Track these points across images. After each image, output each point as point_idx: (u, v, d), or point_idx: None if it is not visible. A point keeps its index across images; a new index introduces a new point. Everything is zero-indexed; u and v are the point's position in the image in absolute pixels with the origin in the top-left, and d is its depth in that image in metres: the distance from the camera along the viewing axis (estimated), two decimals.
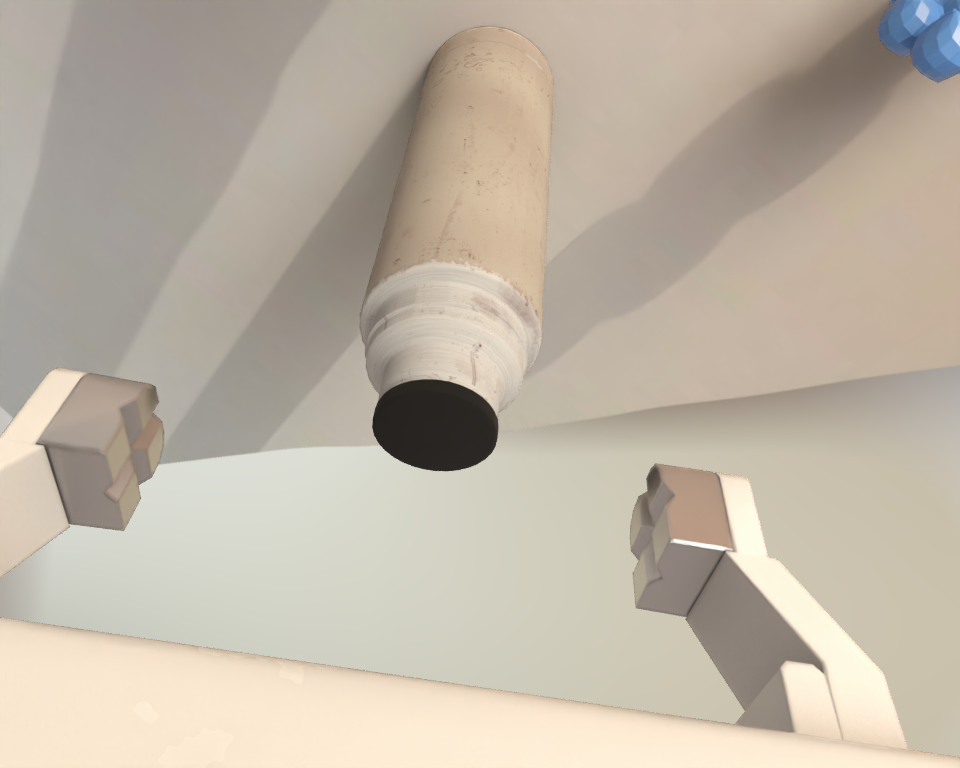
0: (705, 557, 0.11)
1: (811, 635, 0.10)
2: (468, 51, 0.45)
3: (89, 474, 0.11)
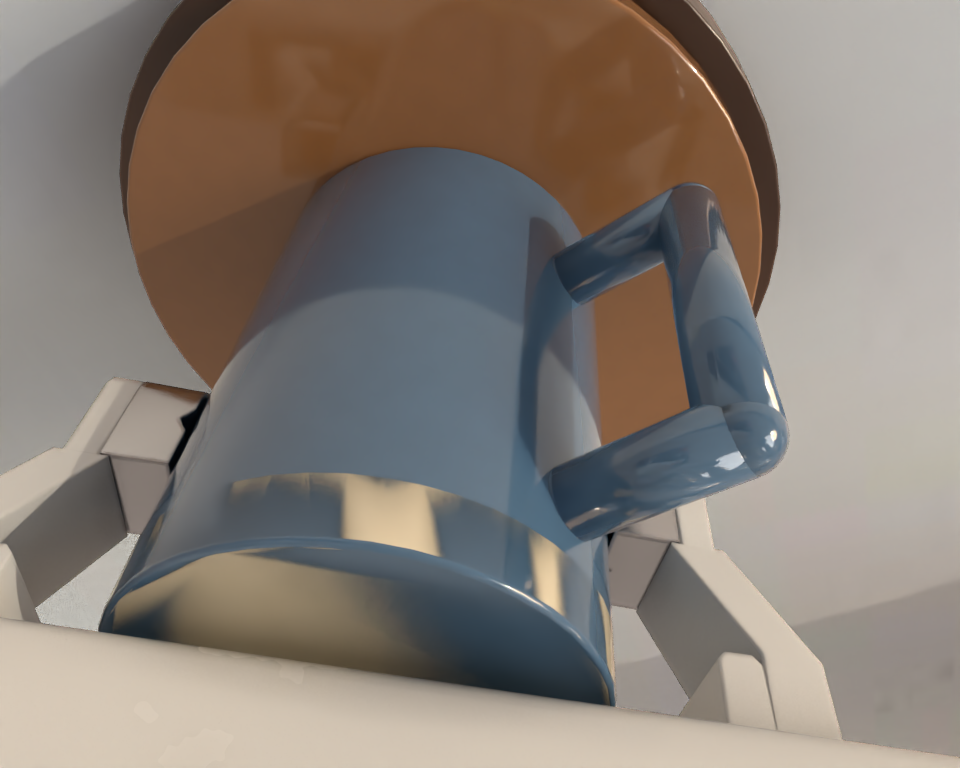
0: (651, 549, 0.11)
1: (752, 625, 0.10)
2: None
3: (151, 484, 0.11)
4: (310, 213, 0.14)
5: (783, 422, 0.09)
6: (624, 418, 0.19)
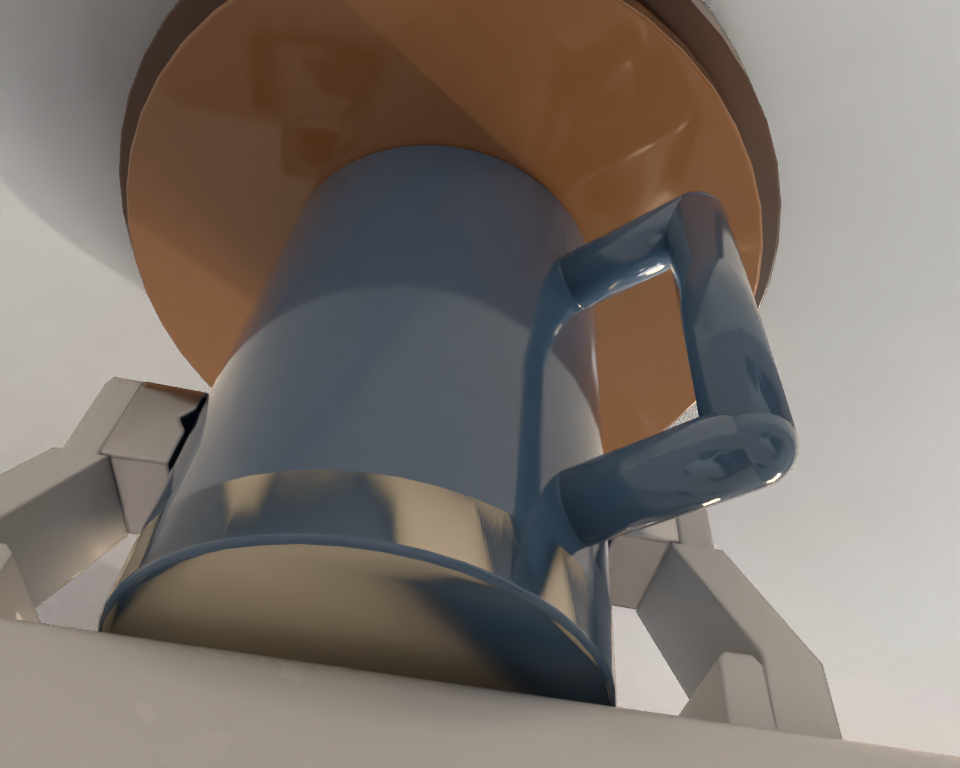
0: (651, 549, 0.11)
1: (752, 626, 0.10)
2: None
3: (151, 483, 0.11)
4: (315, 207, 0.14)
5: (793, 433, 0.09)
6: (617, 422, 0.19)
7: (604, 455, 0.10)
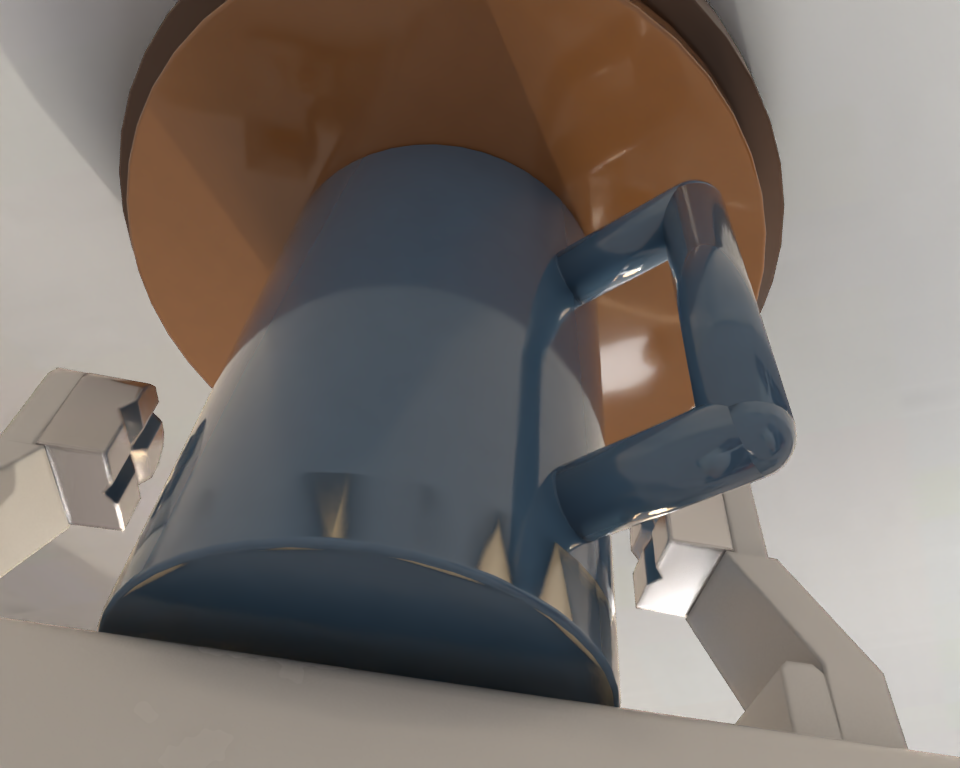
0: (705, 557, 0.11)
1: (811, 635, 0.10)
2: None
3: (89, 474, 0.11)
4: (311, 211, 0.14)
5: (790, 422, 0.08)
6: (626, 417, 0.19)
7: (600, 450, 0.09)
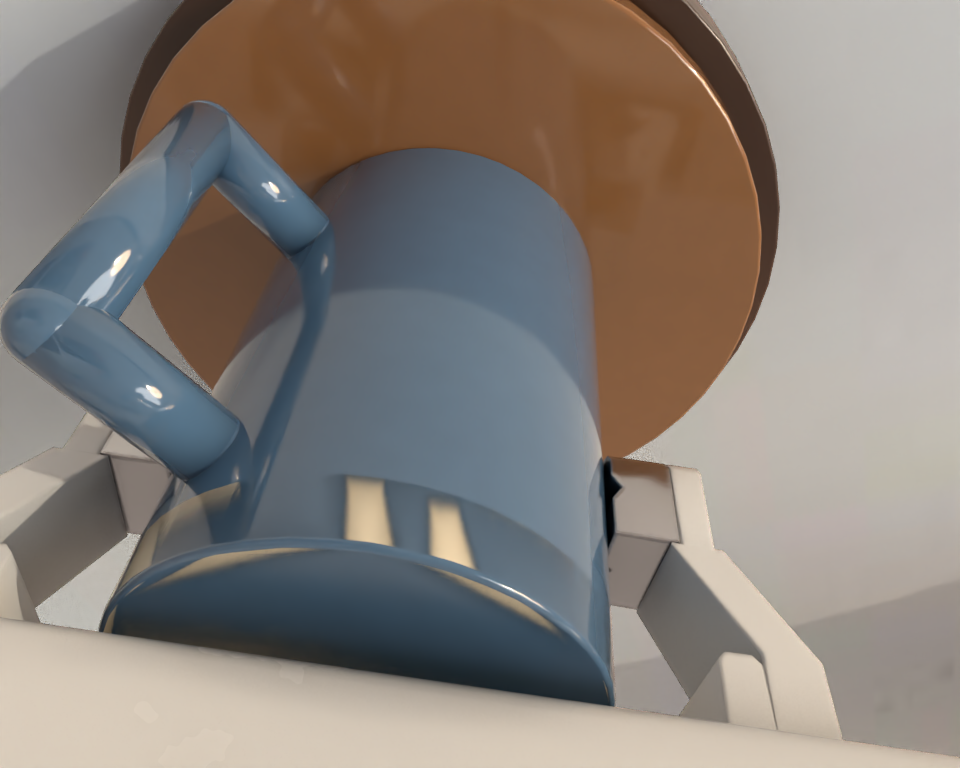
0: (652, 549, 0.11)
1: (752, 625, 0.10)
2: None
3: (151, 483, 0.11)
4: None
5: (3, 305, 0.08)
6: (627, 94, 0.14)
7: None
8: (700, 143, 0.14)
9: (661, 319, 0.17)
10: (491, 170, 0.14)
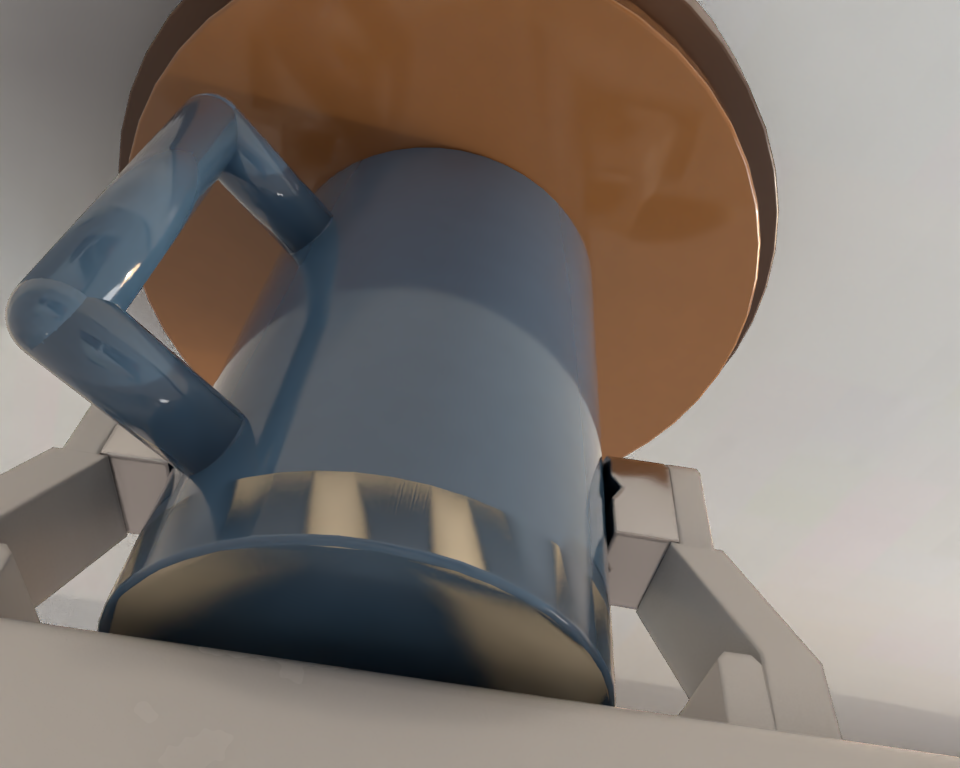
0: (651, 549, 0.11)
1: (752, 625, 0.10)
2: None
3: (151, 483, 0.11)
4: None
5: (11, 294, 0.08)
6: (633, 99, 0.14)
7: None
8: (703, 150, 0.14)
9: (658, 324, 0.17)
10: (496, 172, 0.14)
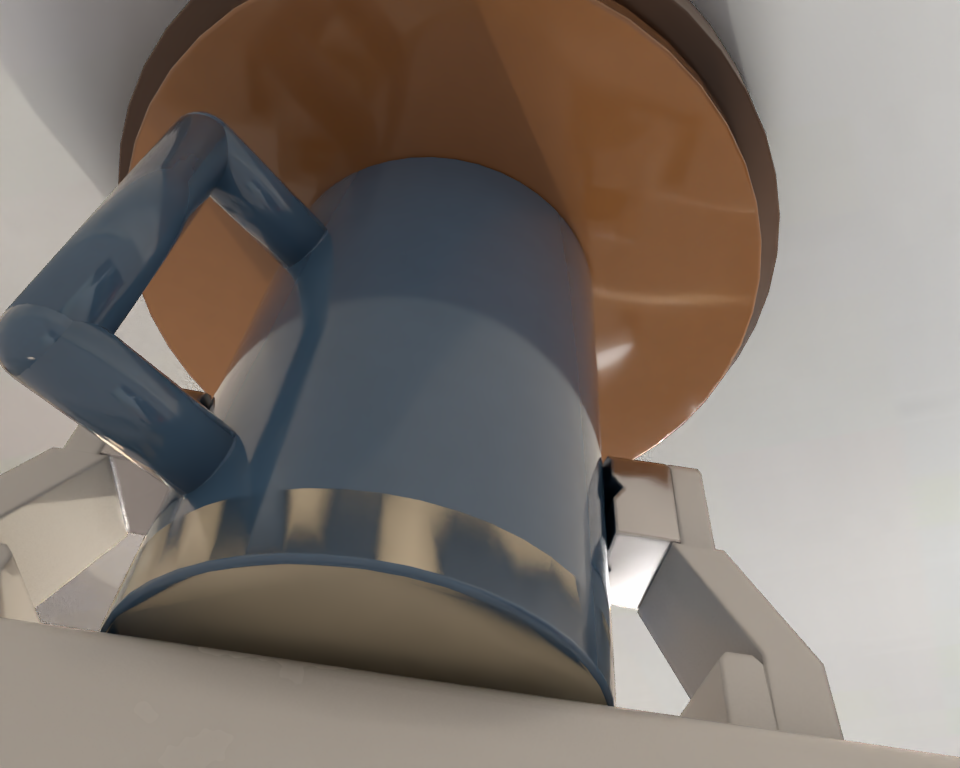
0: (652, 549, 0.11)
1: (752, 626, 0.10)
2: None
3: (151, 483, 0.11)
4: None
5: None
6: (625, 102, 0.14)
7: None
8: (699, 151, 0.14)
9: (661, 326, 0.17)
10: (490, 179, 0.14)
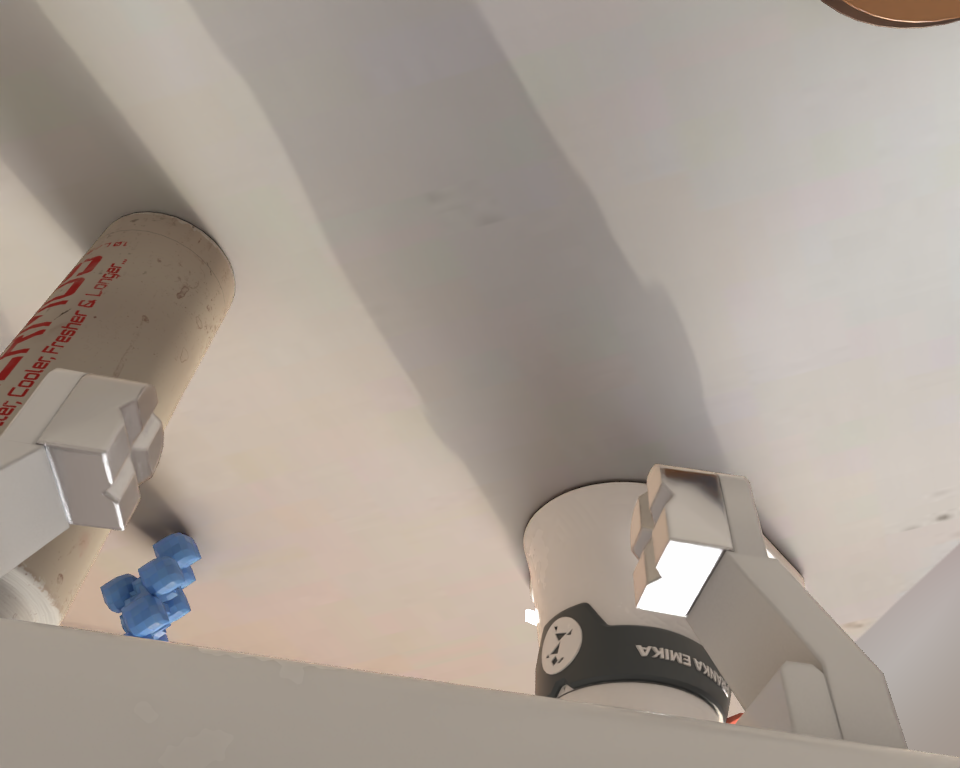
0: (705, 557, 0.11)
1: (811, 635, 0.10)
2: (218, 321, 0.45)
3: (89, 474, 0.11)
4: None
5: None
6: None
7: None
8: None
9: None
10: None
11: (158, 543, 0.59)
